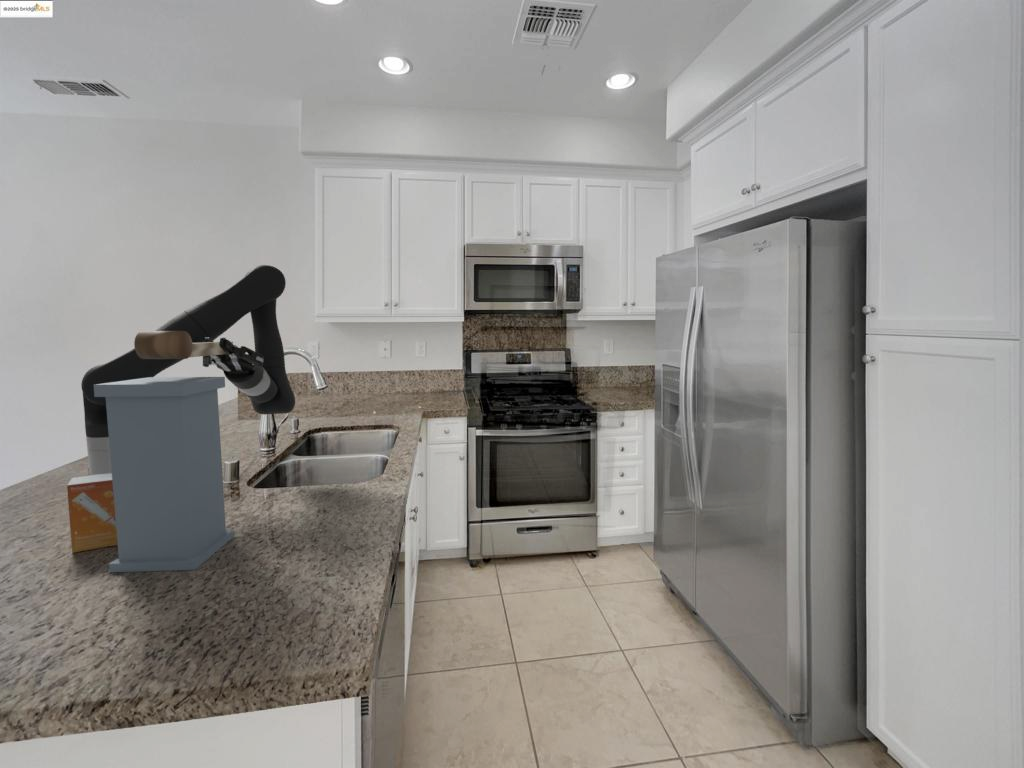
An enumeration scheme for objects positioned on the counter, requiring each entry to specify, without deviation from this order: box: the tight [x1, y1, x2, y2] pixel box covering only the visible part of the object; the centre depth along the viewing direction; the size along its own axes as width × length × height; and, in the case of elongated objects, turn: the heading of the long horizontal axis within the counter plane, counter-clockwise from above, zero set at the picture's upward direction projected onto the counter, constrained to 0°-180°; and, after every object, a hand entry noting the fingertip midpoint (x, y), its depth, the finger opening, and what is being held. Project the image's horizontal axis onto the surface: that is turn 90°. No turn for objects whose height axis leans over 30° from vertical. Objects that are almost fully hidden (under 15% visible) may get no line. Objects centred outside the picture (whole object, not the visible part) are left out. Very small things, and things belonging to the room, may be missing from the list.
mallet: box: [133, 330, 234, 360], centre depth 101 cm, size 25×7×5 cm, turn 3°
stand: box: [94, 376, 235, 573], centre depth 92 cm, size 14×14×32 cm
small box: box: [66, 473, 118, 554], centre depth 98 cm, size 8×6×13 cm
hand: (214, 341), depth 108 cm, fingers closed on mallet, 2 cm apart
